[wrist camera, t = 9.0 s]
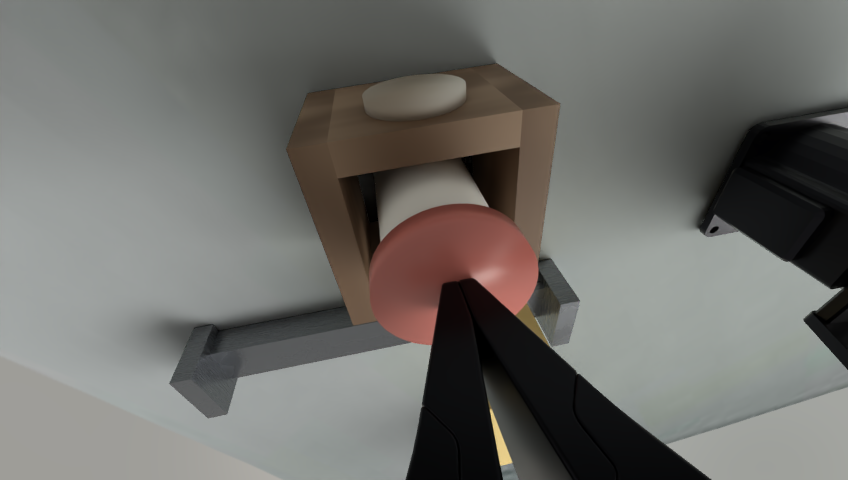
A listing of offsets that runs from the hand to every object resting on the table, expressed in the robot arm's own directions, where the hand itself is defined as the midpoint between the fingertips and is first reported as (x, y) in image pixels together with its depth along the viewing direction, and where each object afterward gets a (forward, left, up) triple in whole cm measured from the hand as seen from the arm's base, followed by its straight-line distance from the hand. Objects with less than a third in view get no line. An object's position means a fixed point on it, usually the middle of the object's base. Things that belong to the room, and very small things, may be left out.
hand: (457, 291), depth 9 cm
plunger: (0, 0, -7) cm, 7 cm away
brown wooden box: (0, 0, -7) cm, 7 cm away
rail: (+3, +9, -7) cm, 12 cm away
